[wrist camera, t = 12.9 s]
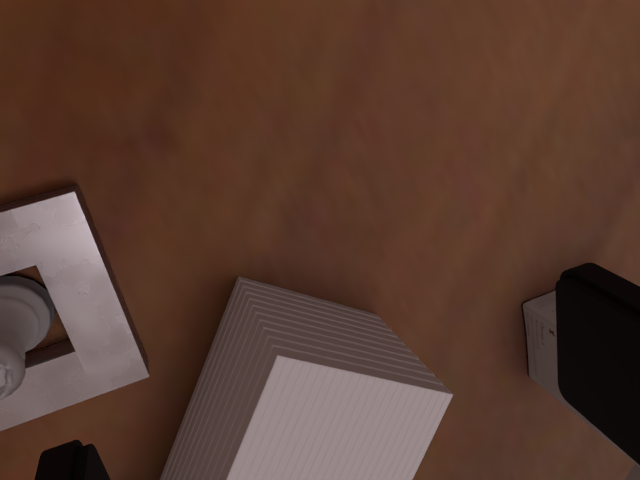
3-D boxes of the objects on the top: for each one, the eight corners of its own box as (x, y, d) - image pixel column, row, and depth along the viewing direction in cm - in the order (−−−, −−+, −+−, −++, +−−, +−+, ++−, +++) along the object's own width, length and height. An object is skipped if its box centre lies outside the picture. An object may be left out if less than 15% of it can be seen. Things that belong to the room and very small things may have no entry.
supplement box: (518, 302, 44) (656, 388, 32) (595, 272, 45) (752, 345, 34) (525, 378, 47) (653, 483, 35) (597, 347, 48) (743, 438, 37)
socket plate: (-162, 250, 28) (-182, 264, 27) (77, 183, 31) (74, 191, 29) (-53, 432, 33) (-64, 454, 31) (148, 360, 36) (149, 376, 34)
